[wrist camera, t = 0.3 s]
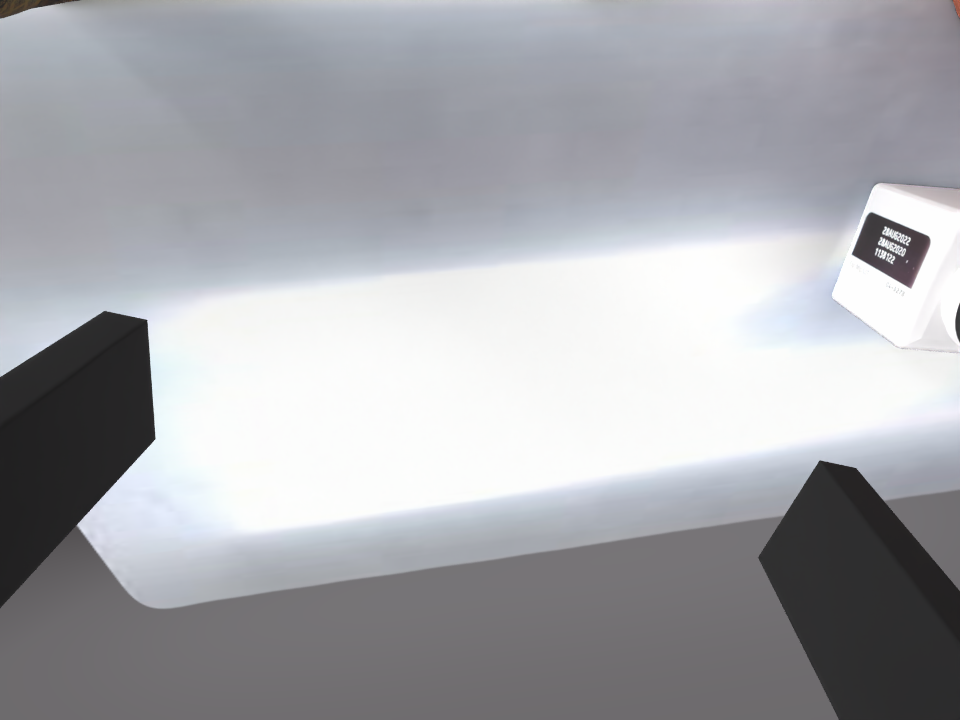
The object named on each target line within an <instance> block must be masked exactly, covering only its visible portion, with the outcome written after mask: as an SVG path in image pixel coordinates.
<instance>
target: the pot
mask: <svg viewBox="0 0 960 720" xmlns="http://www.w3.org/2000/svg"><path fill="white" fill-rule="evenodd" d="M953 2H954V5H955V8H956V11H957V14H958V16H959V18H960V0H953Z"/></svg>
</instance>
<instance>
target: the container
mask: <svg viewBox="0 0 960 720" xmlns="http://www.w3.org/2000/svg"><path fill="white" fill-rule="evenodd" d="M832 298H833V300H834V301H836V302H837V303H838V304H840V305H841V306H842V307H844V308H845V309H846V310H848V311H849V312H850V313H852V314H853V315H854V316H856V317H857V318H858V319H860V320H861V321H862V322H864V323H865V324H866V325H868V326H869V327H870V328H872V329H873V330H874V331H876V332H877V333H878V334H880V335H881V336H882V337H884V338H885V339H886V340H888V341H889V342H890V343H892V344H893V345H894V346H896V347H898V348H901V349H913V350H926V351H938V352H951V353H960V189H954V188H942V187H929V186H916V185H903V184H890V183H879V184H876V185H875V186H874V187H873V189H872V192H871V194H870V197H869V199H868V202H867V205H866V207H865V210H864V212H863V215H862V218H861V220H860V223H859V226H858V228H857V231H856V233H855V236H854V239H853V241H852V244H851V246H850V249H849V252H848V254H847V257H846V259H845V262H844V265H843V267H842V270H841V272H840V275H839V278H838V280H837V283H836V285H835V288H834V291H833V293H832Z"/></svg>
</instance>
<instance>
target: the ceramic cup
mask: <svg viewBox="0 0 960 720" xmlns="http://www.w3.org/2000/svg"><path fill="white" fill-rule="evenodd" d="M71 1H79V0H0V19H1V18H5V17H8V16H11V15H14V14H17V13H20V12H23V11H25V10H28V9H31V8H37V7H43V6H48V5H54V4H60V3H65V2H71Z"/></svg>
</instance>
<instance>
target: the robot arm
mask: <svg viewBox="0 0 960 720" xmlns="http://www.w3.org/2000/svg"><path fill="white" fill-rule="evenodd" d="M154 440H155V426H154V411H153V397H152V382H151V368H150V353H149V339H148V324H147V320H145V319H140V318H135V317H131V316H126V315H121V314H116V313H112V312H107V311H104V312H102V313H101V314H99V315H98V316H96V317H95V318H93V319H91V320H90V321H88V322H87V323H85V324H83V325H82V326H80V327H79V328H77V329H76V330H74V331H72V332H71V333H69V334H68V335H66V336H65V337H63V338H61V339H60V340H58V341H57V342H55V343H53V344H52V345H50V346H49V347H47V348H46V349H44V350H42V351H41V352H39V353H38V354H36V355H34V356H33V357H31V358H30V359H28V360H27V361H25V362H23V363H22V364H20V365H19V366H17V367H16V368H14V369H12V370H11V371H9V372H8V373H6V374H4V375H3V376H1V377H0V608H1V607H2V605H3V604H4V603H5V602H6V601H7V600H8V599H9V598H10V597H11V596H12V595H13V594H14V593H15V591H16V590H17V589H18V588H19V587H20V586H21V585H22V584H23V583H24V582H25V581H26V579H27V578H28V577H29V576H30V575H31V574H32V573H33V572H34V571H35V570H36V569H37V567H38V566H39V565H40V564H41V563H42V562H43V561H44V560H45V559H46V558H47V557H48V556H49V554H50V553H51V552H52V551H53V550H54V549H55V548H56V547H57V546H58V545H59V543H60V542H61V541H62V540H63V539H64V538H65V537H66V536H67V535H68V534H69V533H70V532H71V530H72V529H73V528H74V527H75V526H76V525H77V524H78V523H79V522H80V521H81V520H82V519H83V517H84V516H85V515H86V514H87V513H88V512H89V511H90V510H91V509H92V508H93V507H94V505H95V504H96V503H97V502H98V501H99V500H100V499H101V498H102V497H103V496H104V495H105V494H106V492H107V491H108V490H109V489H110V488H111V487H112V486H113V485H114V484H115V483H116V482H117V480H118V479H119V478H120V477H121V476H122V475H123V474H124V473H125V472H126V471H127V470H128V469H129V467H130V466H131V465H132V464H133V463H134V462H135V461H136V460H137V459H138V458H139V457H140V455H141V454H142V453H143V452H144V451H145V450H146V449H147V448H148V447H149V446H150V445H151V443H152V442H153V441H154ZM759 560H760V562H761V564H762V566H763V568H764V570H765V572H766V574H767V576H768V578H769V580H770V582H771V584H772V586H773V588H774V590H775V592H776V594H777V596H778V598H779V600H780V602H781V604H782V606H783V608H784V610H785V612H786V614H787V616H788V618H789V620H790V622H791V624H792V626H793V628H794V630H795V632H796V634H797V636H798V638H799V640H800V642H801V644H802V646H803V648H804V650H805V652H806V654H807V656H808V658H809V660H810V662H811V664H812V666H813V668H814V670H815V672H816V674H817V676H818V678H819V680H820V682H821V684H822V686H823V688H824V690H825V692H826V694H827V696H828V698H829V700H830V702H831V704H832V706H833V708H834V710H835V712H836V714H837V716H838V718H839V720H960V591H959V590H958V588H957V587H956V586H955V585H954V584H953V583H952V581H951V580H950V579H949V578H948V577H947V575H946V574H945V573H944V572H943V571H942V569H941V568H940V567H939V566H938V565H937V564H936V562H935V561H934V560H933V559H932V558H931V556H930V555H929V554H928V553H927V552H926V551H925V549H924V548H923V547H922V546H921V545H920V543H919V542H918V541H917V540H916V539H915V538H914V536H913V535H912V534H911V533H910V532H909V530H908V529H907V528H906V527H905V526H904V524H903V523H902V522H901V521H900V520H899V519H898V517H897V516H896V515H895V514H894V513H893V511H892V510H891V509H890V508H889V507H888V505H887V504H886V503H885V502H884V501H883V500H882V498H881V497H880V496H879V495H878V494H877V492H876V491H875V490H874V489H873V488H872V487H871V485H870V484H869V483H868V482H867V481H866V479H865V478H864V477H863V476H862V475H861V473H860V472H859V471H858V470H857V469H856V468H853V467H848V466H844V465H839V464H834V463H829V462H824V461H819V462H818V464H817V466H816V467H815V469H814V470H813V472H812V473H811V475H810V477H809V478H808V480H807V481H806V483H805V484H804V486H803V488H802V489H801V491H800V492H799V494H798V496H797V497H796V499H795V500H794V502H793V503H792V505H791V507H790V508H789V510H788V511H787V513H786V514H785V516H784V518H783V519H782V521H781V523H780V524H779V526H778V527H777V529H776V530H775V532H774V533H773V535H772V537H771V538H770V540H769V541H768V543H767V544H766V546H765V548H764V549H763V551H762V552H761V554H760V555H759Z"/></svg>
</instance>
